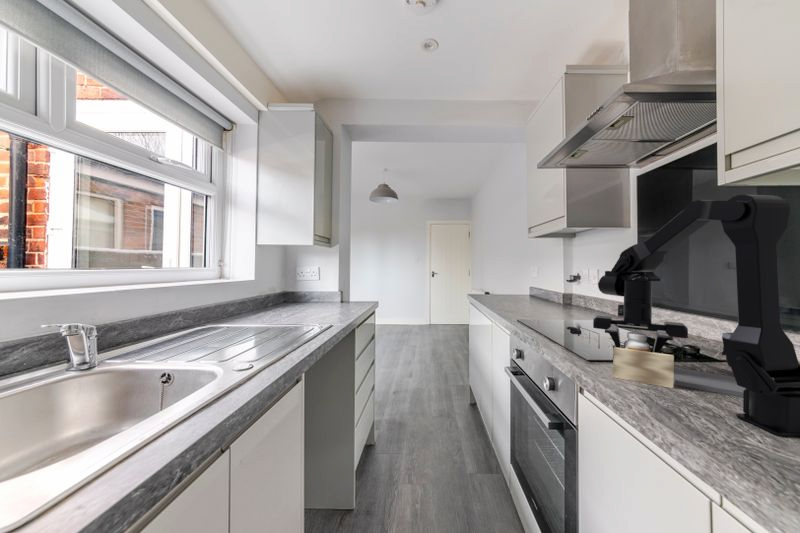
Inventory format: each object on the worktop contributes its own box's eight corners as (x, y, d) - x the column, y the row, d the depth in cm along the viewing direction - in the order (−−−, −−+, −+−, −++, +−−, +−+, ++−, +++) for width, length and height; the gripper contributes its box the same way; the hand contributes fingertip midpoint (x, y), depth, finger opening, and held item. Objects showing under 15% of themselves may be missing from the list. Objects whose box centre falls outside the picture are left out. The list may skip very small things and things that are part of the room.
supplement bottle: (655, 375, 77) (656, 336, 77) (633, 375, 78) (633, 335, 77) (639, 368, 83) (639, 331, 83) (618, 367, 83) (619, 331, 83)
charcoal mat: (737, 381, 74) (738, 377, 74) (753, 399, 64) (753, 394, 64) (670, 370, 81) (670, 366, 81) (675, 385, 71) (675, 380, 71)
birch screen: (672, 386, 70) (673, 355, 70) (673, 388, 69) (673, 356, 69) (613, 375, 77) (613, 347, 77) (613, 377, 76) (613, 348, 76)
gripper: (682, 298, 81) (681, 358, 81) (597, 293, 92) (596, 346, 92) (688, 302, 72) (687, 370, 72) (593, 296, 83) (592, 355, 83)
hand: (636, 359), depth 80 cm, fingers open, 6 cm apart
